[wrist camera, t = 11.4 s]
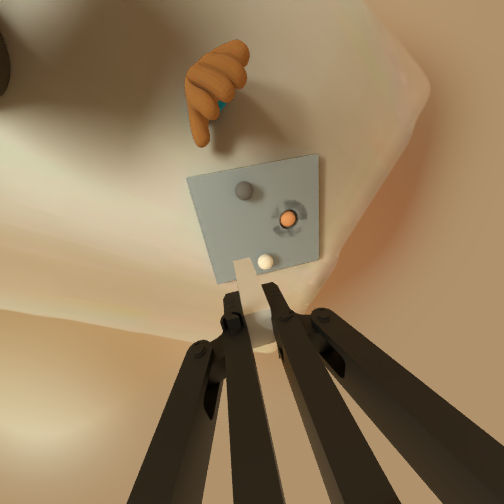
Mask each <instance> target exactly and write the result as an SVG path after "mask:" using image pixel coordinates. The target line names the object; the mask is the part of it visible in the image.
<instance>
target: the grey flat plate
mask: <svg viewBox="0 0 504 504" xmlns="http://www.w3.org/2000/svg"><path fill="white" fill-rule="evenodd" d="M186 180H187V183H188V187H189V190H190V194H191V197H192V200H193V204H194V207H195V210H196V214H197V217H198V221H199V224H200V227H201V231H202V234H203V237H204V241H205V244H206V247H207V251H208V254H209V258H210V261H211V264H212V268H213V271H214V274H215V278H216V281H217V284H221V283H225V282H229V281H233V280H237V279H236V274H235V269H234V264H233V261H235V260H240V259H244V258H248V257H250V259H251V261H252V264H253V266H254V269H255V271H256V274H257V275H258V274H262V273H266V272H271V271H275V270H279V269H283V268H287V267H291V266H295V265H300V264H304V263H308V262H312V261H316V260H319V154H313V155H308V156H302V157H297V158H291V159H286V160H280V161H275V162H269V163H264V164H258V165H253V166H247V167H242V168H236V169H231V170H225V171H220V172H214V173H209V174H204V175H198V176H193V177H187V178H186ZM242 181H247V182H249V183H250V184H251V185H252V187H253V190H254V191H253V195H252V197H251V198H250V199H249V200H246V201H243V200H240V199H239V198H238V197H237V196H236V194H235V188H236V185H237V184H238V183H239V182H242ZM289 209H292V210H293V211H294V215H295V222H294V224H293V225H291V226H288V227H286V226H285V227H283V226H281V225H280V221H279V219H280V216H281V214H282V213H283V212H284V211H286V210H289ZM263 254H268V255H270V256H271V257H272V259H273V265H272V267H271V268H269V269H266V270H265V269H262V268H260V267H259V265H258V258H259V257H260V256H261V255H263Z"/></svg>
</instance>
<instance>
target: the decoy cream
mask: <svg viewBox="0 0 504 504" xmlns="http://www.w3.org/2000/svg"><path fill="white" fill-rule="evenodd" d="M258 265H259V267H260V268H262V269H265V270H266V269H269V268H271V267H272V265H273V259H272V257H271V256H270V255H268V254H263V255H261V256H260V257H259V258H258Z"/></svg>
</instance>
